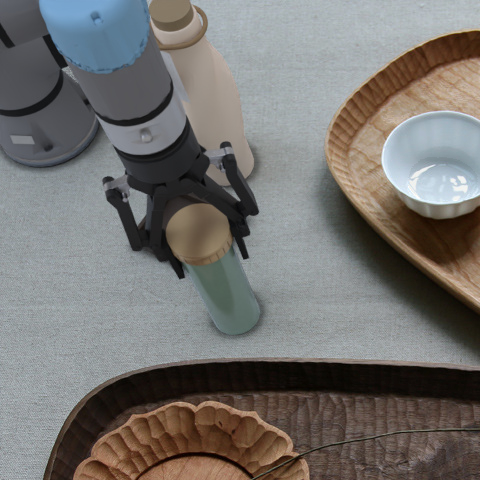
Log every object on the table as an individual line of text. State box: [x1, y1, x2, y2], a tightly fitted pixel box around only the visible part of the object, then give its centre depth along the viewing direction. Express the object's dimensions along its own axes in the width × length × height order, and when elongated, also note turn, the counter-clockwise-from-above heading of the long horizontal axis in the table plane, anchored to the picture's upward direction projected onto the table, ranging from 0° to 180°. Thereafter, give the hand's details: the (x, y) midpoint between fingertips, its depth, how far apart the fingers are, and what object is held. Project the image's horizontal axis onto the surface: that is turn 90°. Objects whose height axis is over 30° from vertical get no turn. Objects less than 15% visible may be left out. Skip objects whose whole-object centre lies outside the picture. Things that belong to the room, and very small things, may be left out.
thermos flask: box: [181, 242, 261, 336], centre depth 101 cm, size 6×6×19 cm
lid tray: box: [137, 193, 234, 268], centre depth 114 cm, size 12×10×2 cm
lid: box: [166, 203, 234, 266], centre depth 92 cm, size 7×7×2 cm
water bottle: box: [148, 0, 255, 187], centre depth 106 cm, size 10×9×28 cm
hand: (211, 259), depth 97 cm, fingers closed on lid, 7 cm apart
